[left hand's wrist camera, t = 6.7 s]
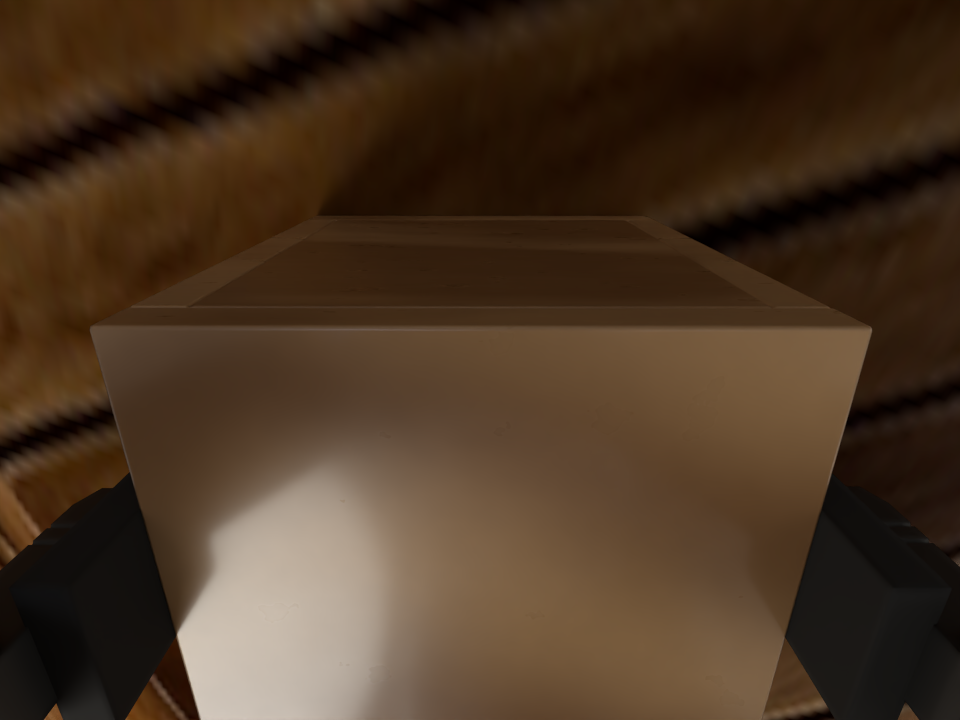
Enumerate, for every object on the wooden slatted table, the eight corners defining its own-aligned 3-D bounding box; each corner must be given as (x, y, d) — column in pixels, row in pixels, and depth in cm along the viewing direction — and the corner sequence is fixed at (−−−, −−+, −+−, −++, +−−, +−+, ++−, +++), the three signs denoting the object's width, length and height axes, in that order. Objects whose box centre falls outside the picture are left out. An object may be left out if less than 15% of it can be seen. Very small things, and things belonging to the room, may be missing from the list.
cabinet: (603, 612, 24) (693, 966, 14) (358, 611, 24) (267, 964, 14) (647, 215, 18) (876, 327, 7) (315, 215, 18) (86, 325, 7)
